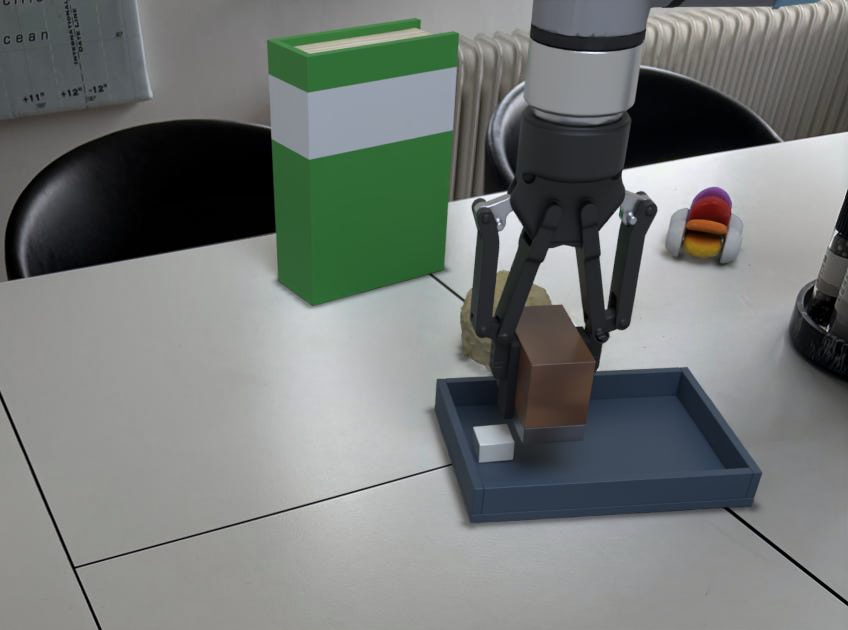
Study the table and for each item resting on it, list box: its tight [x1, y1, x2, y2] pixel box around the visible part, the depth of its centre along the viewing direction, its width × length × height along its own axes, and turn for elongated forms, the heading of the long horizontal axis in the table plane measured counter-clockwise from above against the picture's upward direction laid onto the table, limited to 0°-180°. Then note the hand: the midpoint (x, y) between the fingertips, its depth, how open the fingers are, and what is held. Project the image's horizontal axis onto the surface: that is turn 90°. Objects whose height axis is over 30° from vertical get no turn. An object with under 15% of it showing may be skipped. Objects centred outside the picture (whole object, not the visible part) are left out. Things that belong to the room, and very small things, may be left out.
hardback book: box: [266, 17, 460, 307], centre depth 110 cm, size 18×7×24 cm, turn 124°
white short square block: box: [472, 424, 515, 463], centre depth 89 cm, size 3×3×2 cm
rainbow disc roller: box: [664, 186, 744, 264], centre depth 122 cm, size 8×10×7 cm
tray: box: [434, 366, 763, 524], centre depth 90 cm, size 24×18×3 cm
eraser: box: [497, 303, 596, 444], centre depth 85 cm, size 5×10×7 cm, turn 7°
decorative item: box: [459, 269, 553, 372], centre depth 102 cm, size 10×10×10 cm
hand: (538, 407), depth 87 cm, fingers closed on eraser, 5 cm apart
